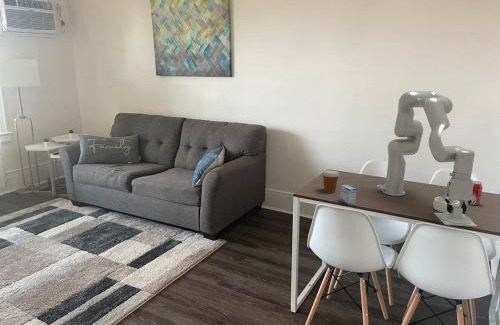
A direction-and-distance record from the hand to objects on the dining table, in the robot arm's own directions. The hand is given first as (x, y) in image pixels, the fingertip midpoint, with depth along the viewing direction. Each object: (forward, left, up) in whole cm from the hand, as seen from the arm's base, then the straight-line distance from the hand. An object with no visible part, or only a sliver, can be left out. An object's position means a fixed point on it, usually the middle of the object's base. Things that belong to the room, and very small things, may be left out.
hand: (455, 212), depth 178 cm
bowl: (+1, +14, -4) cm, 15 cm away
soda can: (+19, +26, -4) cm, 32 cm away
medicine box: (-48, +17, -4) cm, 51 cm away
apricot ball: (+1, +14, -1) cm, 14 cm away
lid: (0, 0, -3) cm, 3 cm away
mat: (0, 0, -4) cm, 4 cm away
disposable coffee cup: (-56, +34, -4) cm, 66 cm away
